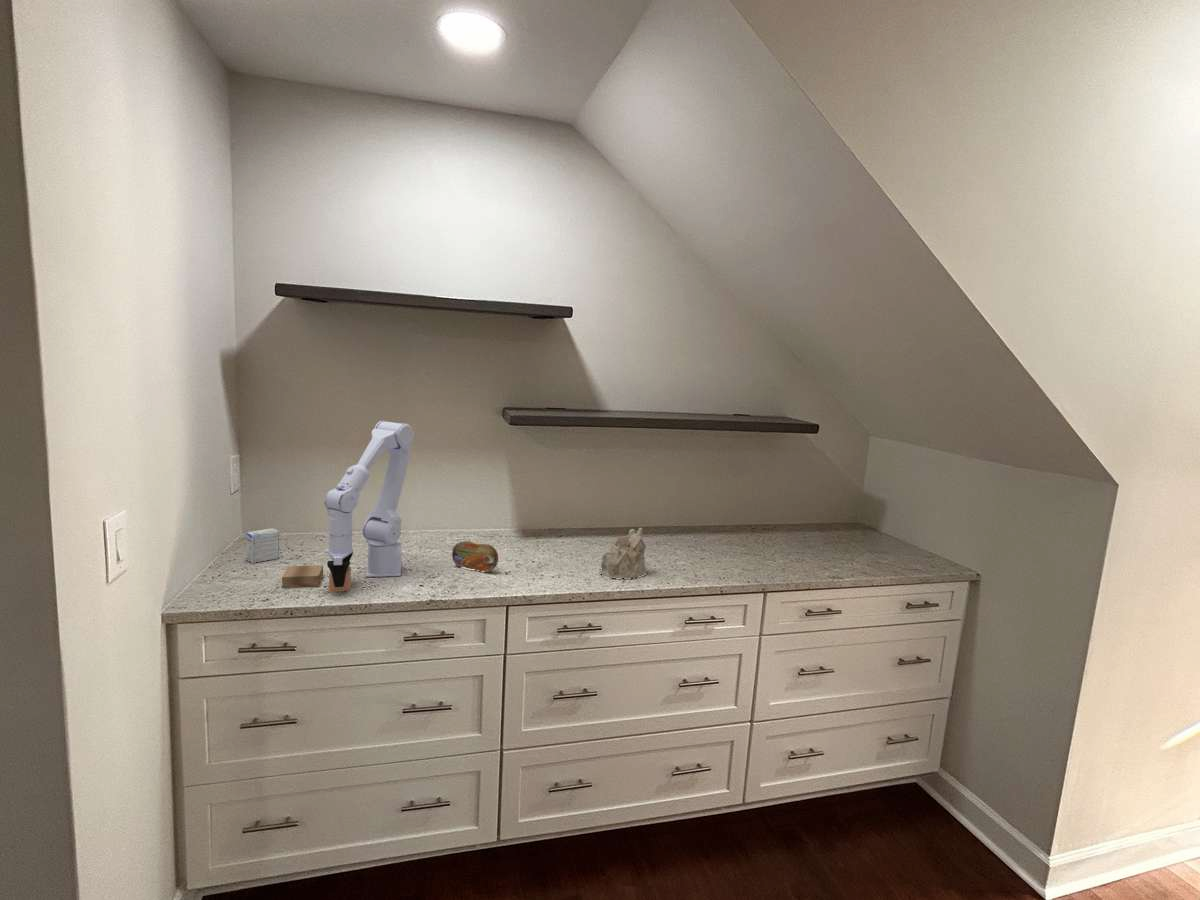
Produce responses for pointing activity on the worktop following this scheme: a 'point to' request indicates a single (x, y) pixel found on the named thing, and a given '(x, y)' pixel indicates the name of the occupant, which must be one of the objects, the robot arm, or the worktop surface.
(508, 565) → the worktop surface
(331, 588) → the terracotta cube
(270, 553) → the medicine box
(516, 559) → the worktop surface
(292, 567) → the walnut block
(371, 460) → the robot arm
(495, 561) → the tin
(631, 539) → the ceramic cottage
